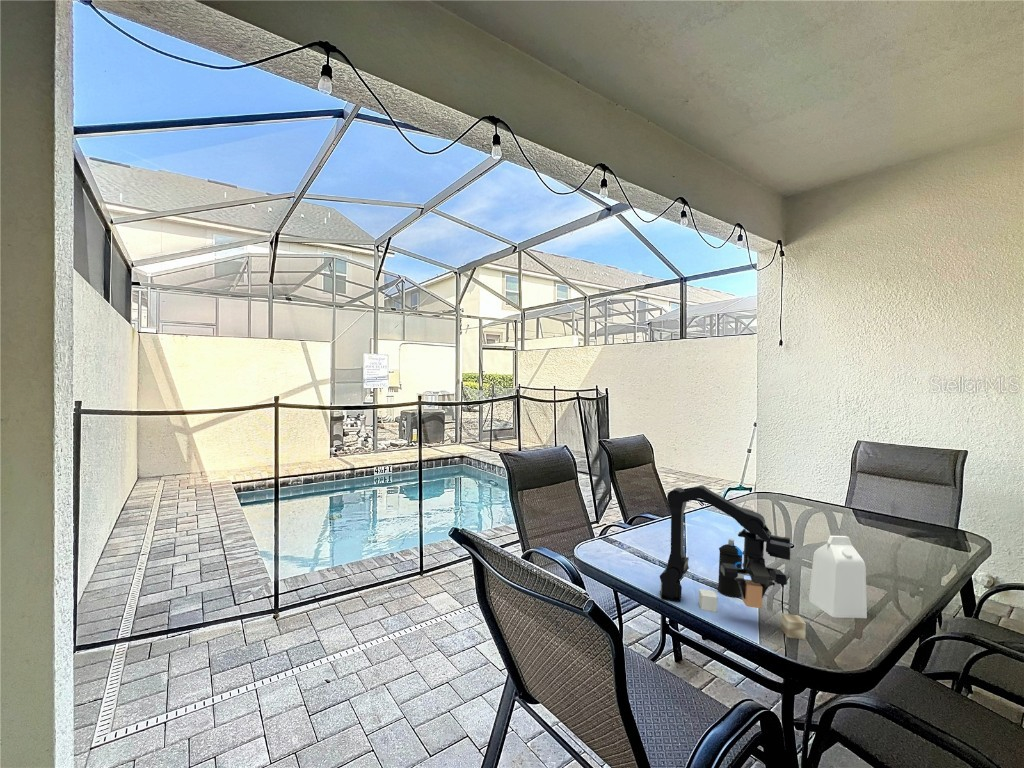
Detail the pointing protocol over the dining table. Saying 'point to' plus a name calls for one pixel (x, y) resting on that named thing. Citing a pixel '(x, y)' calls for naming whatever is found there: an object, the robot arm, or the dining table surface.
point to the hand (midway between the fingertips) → (751, 599)
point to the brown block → (753, 594)
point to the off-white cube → (708, 600)
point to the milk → (839, 579)
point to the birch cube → (793, 626)
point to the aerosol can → (730, 556)
